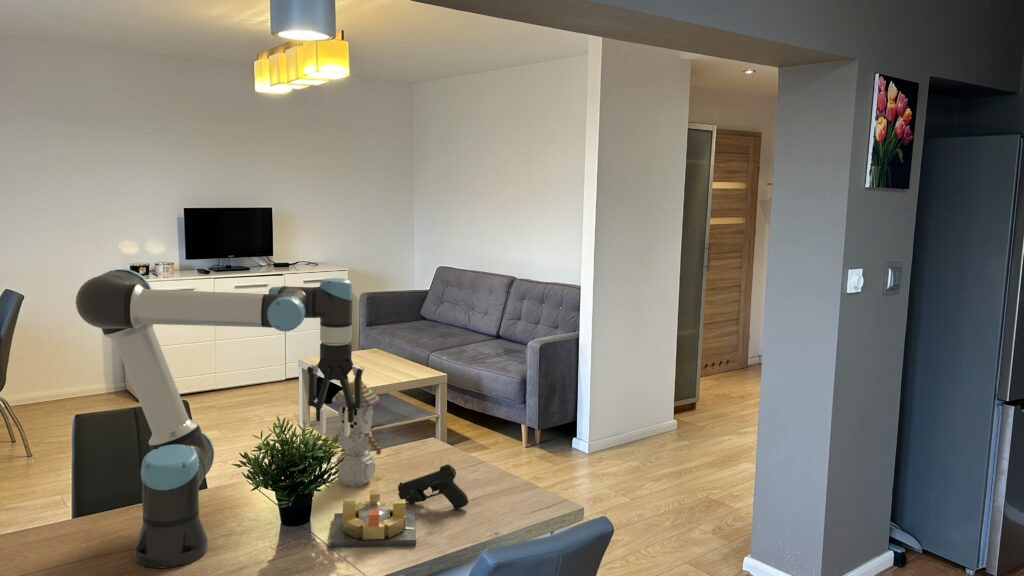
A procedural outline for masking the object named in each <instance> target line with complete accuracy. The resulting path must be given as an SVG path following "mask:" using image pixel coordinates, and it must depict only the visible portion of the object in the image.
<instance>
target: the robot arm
mask: <svg viewBox="0 0 1024 576" xmlns="http://www.w3.org/2000/svg"><path fill="white" fill-rule="evenodd" d="M75 307H76V310H77V314H78V315H79V317H81V318H82V320H83V321H84V322H85V323H87V324H88V325H91V326H92V327H95V328H98V329H101V331H102V334H103V335H104V337H105V338H106V337H107V338H108V339H111V340H113V341H114V342H115V345H116V348H117V350H118V353H119V355H120V357H121V360H122V363H123V365H124V367H125V370H126V372H127V373H126V374H128V378H129V380H130V382H131V385H132V387H133V389H134V392H135V394H136V397H137V400H138V401H139V404H140V407H141V409H142V411H143V414H144V416H145V419H146V421H147V423H148V427H149V429H150V431H151V436H150V438H149V441H148V444H149V447H150V450H151V451H149V452H148V453H147V454H146V455H145V456H144V457H143V459H142V461H141V468H140V479H141V499H142V500H141V502H142V503H141V504H142V525H141V528H140V531H139V535H138V538H137V540H136V542H135V546H134V559H135V561H136V563H137V564H139V565H140V564H141V566H143V565H144V566H143V567H146V566H149V567H148V568H151V567H170V568H173V567H172V566H176V567H179V566H178V565H181V566H183V565H182V564H184V565H187V564H186V563H188V564H190V563H192V561H193V562H195V561H197V560H199V559H200V558H201V556H202V557H203V556H204V555H205V554H206V553H207V551H208V547H209V545H208V541H209V540H208V536H207V533H206V531H205V528H204V526H203V523H202V521H201V518H200V509H199V508H200V505H199V504H200V501H199V500H200V499H199V497H200V496H199V494H200V488H199V487H200V486H201V484H202V483H203V480H204V479H205V478H206V476H207V474H208V473H209V471H210V470H211V468H212V466H213V463H214V459H215V458H214V457H215V448H214V444H213V441H212V440H211V439H210V437H208V435H207V434H206V433H204V432H202V430H201V427H200V424H199V422H198V421H195V420H192V419H190V418H189V414H188V412H187V410H186V407H185V405H184V402H183V399H182V397H181V395H180V392H179V390H178V387H177V385H176V382H175V380H174V377H173V374H172V371H171V370H170V367H169V365H168V362H167V360H166V357H165V355H164V352H163V350H162V347H161V345H160V343H159V339H158V337H157V335H156V332H155V330H154V325H163V326H164V325H168V326H169V325H171V326H202V327H203V326H206V327H207V326H208V327H209V326H210V327H239V328H240V327H242V328H243V327H246V328H249V327H250V328H269V329H271V328H272V329H273V328H274V329H276V330H277V331H279V332H290V331H294V330H295V329H296V328H298V327H299V326H301V324H302V323H303V321H305V319H320V322H319V341H320V342H321V343H320V344H319V361H318V362H317V364H310V365H309V366H308V367H306V371H307V374H308V399H307V400H308V402H307V403H308V406H309V407H314V408H315V420H316V421H317V422H319V436H324V435H325V434H326V432H327V406H323V405H324V402H325V400H326V395H327V392H328V388H329V385H330V382H331V381H339V384H340V386H341V388H342V389H341V390H343V393H344V397H345V400H346V404H347V409H346V410H345V421H344V437H347V436H348V435H349V434H350V423H352V422H353V420H354V409H356V408H359V407H360V406H361V405H362V381H363V379H362V376H363V373H364V369H365V368H364V367H363V366H357V365H354V363H353V361H352V350H353V349H352V343H351V341H352V338H353V337H352V336H353V334H352V333H353V331H352V330H353V327H352V326H353V324H352V321H353V285H352V282H351V280H349V279H347V278H343V277H342V278H341V277H332V278H330V277H329V278H327V277H326V278H323V279H321V280H320V284H319V286H313V287H312V286H287V285H282V286H271V287H270V288H269V290H268V292H267V293H254V292H253V293H251V292H231V291H229V292H227V291H225V292H224V291H205V290H204V291H202V290H200V291H199V290H196V291H195V290H176V289H175V290H174V289H173V290H171V289H152V286H151V285H150V283H149V281H148V280H147V279H146V278H145V277H144V276H143V275H142V274H140V273H139V272H137V271H135V270H131V269H127V268H126V269H114V270H109V271H107V272H104V273H102V274H100V275H96V276H95V277H92V278H90V279H88V280H87V281H85V282H84V283H83V284H82V285H81V286H80V288H79V289H78V291H77V293H76V297H75ZM319 371H320V372H321V374H322V375H323V379H322V383H321V387H320V391H319V394H318V397H317V380H318V379H317V378H318V375H317V373H318V372H319ZM351 371H352V372H353V376H354V379H355V403H354V401H353V397H352V393H351V389H350V386H349V377H348V375H349V374H350V372H351ZM198 558H199V559H198ZM196 559H197V560H196ZM194 560H195V561H194ZM189 562H190V563H189Z"/></svg>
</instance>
